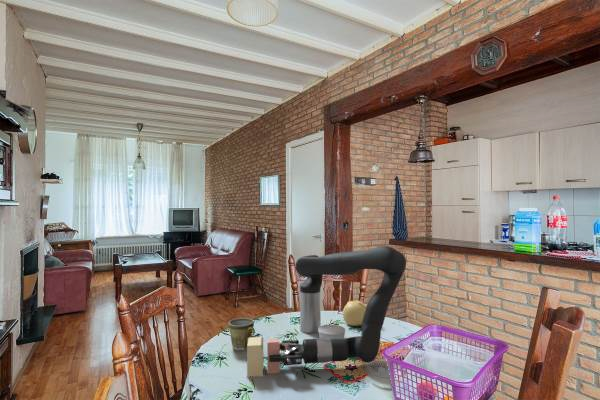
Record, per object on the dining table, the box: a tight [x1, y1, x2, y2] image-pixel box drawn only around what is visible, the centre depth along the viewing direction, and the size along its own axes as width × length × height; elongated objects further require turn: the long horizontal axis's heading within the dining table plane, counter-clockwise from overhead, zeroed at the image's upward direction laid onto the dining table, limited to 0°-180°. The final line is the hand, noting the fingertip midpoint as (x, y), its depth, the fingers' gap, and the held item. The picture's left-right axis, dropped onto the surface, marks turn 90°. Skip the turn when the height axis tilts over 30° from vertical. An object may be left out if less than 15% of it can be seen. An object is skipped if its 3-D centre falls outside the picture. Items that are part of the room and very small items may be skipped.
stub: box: [266, 338, 281, 374], centre depth 112 cm, size 4×3×10 cm
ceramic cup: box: [228, 317, 256, 351], centre depth 131 cm, size 13×10×10 cm
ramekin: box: [317, 324, 346, 339], centre depth 137 cm, size 11×11×5 cm
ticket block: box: [246, 336, 267, 378], centre depth 111 cm, size 6×7×10 cm
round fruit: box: [342, 300, 367, 327], centre depth 159 cm, size 12×12×11 cm
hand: (269, 352), depth 112 cm, fingers open, 8 cm apart
